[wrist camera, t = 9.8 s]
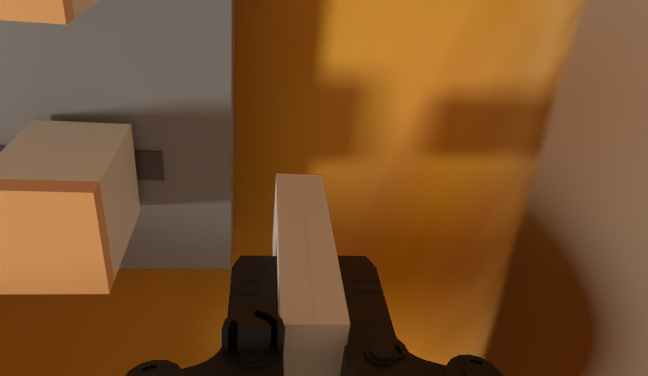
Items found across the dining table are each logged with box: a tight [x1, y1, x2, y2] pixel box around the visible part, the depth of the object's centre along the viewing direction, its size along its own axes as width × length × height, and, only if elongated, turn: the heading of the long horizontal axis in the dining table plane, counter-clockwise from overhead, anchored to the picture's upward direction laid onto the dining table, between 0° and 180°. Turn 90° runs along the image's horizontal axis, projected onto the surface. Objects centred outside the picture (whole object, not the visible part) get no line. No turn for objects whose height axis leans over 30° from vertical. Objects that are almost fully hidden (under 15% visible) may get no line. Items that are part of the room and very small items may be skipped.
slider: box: [0, 120, 140, 294], centre depth 16 cm, size 3×4×5 cm
